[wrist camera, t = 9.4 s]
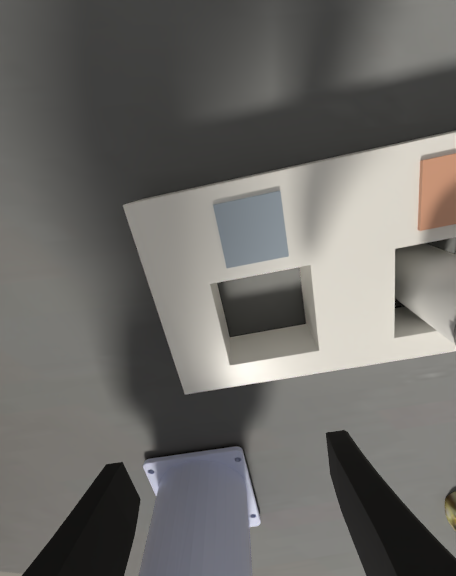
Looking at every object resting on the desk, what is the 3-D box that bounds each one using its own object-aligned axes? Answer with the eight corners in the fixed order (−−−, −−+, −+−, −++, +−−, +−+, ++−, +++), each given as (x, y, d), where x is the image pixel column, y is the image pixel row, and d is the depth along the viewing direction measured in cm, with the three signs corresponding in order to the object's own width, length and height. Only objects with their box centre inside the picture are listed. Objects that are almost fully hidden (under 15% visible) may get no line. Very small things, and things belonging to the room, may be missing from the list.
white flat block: (499, 311, 18) (551, 338, 15) (191, 363, 20) (184, 397, 17) (530, 114, 14) (610, 98, 11) (141, 199, 16) (120, 205, 13)
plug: (440, 294, 18) (561, 365, 11) (377, 304, 18) (460, 379, 12) (446, 234, 16) (586, 275, 10) (377, 246, 17) (471, 293, 10)
